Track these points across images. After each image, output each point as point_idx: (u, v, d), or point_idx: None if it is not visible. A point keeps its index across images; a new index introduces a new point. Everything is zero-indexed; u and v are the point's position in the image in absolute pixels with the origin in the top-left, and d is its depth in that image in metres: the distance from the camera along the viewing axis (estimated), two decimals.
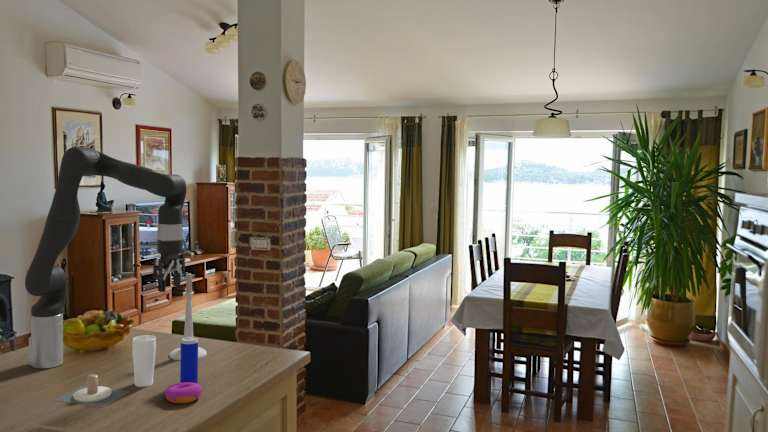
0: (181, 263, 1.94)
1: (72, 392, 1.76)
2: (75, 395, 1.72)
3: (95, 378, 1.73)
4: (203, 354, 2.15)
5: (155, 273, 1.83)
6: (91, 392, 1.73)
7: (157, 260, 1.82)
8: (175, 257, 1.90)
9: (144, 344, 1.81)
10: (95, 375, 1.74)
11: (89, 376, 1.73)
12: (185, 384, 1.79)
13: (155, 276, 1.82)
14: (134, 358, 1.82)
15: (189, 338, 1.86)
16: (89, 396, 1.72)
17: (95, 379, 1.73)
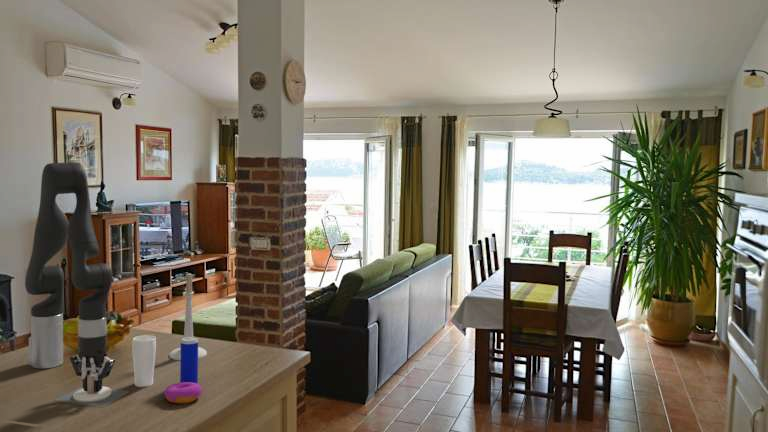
0: (81, 364, 1.75)
1: (72, 392, 1.76)
2: (75, 395, 1.72)
3: None
4: (203, 354, 2.15)
5: None
6: (91, 392, 1.73)
7: (112, 362, 1.72)
8: None
9: (144, 344, 1.81)
10: None
11: (89, 376, 1.73)
12: (185, 384, 1.79)
13: (104, 376, 1.73)
14: (134, 358, 1.82)
15: (189, 338, 1.86)
16: (89, 396, 1.72)
17: None
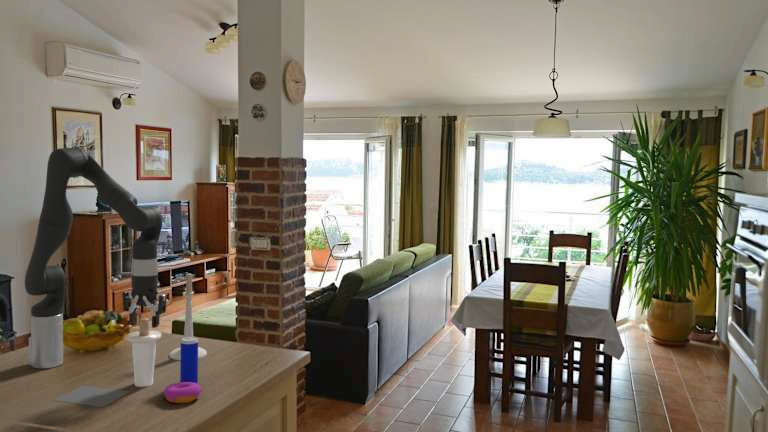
0: (130, 300, 1.85)
1: (72, 392, 1.76)
2: (128, 336, 1.82)
3: (147, 321, 1.83)
4: (203, 354, 2.15)
5: None
6: (143, 334, 1.83)
7: (164, 296, 1.82)
8: None
9: (144, 344, 1.81)
10: (146, 318, 1.84)
11: (141, 319, 1.83)
12: (184, 384, 1.79)
13: (162, 312, 1.82)
14: (134, 358, 1.82)
15: (189, 338, 1.86)
16: (142, 337, 1.81)
17: (147, 322, 1.83)
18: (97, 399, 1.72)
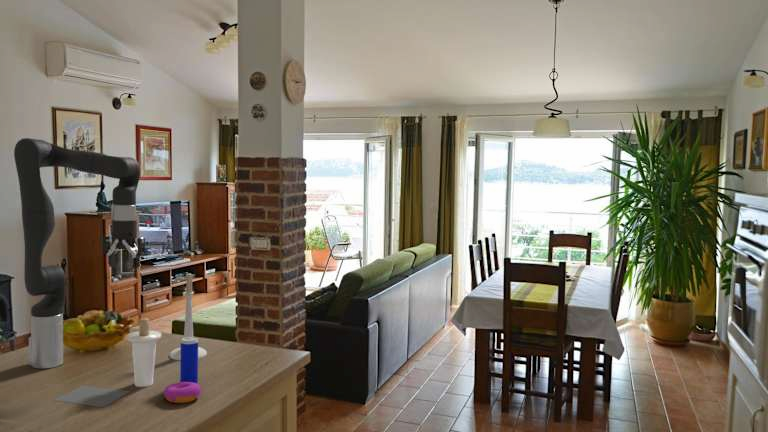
0: (109, 244, 1.98)
1: (72, 392, 1.76)
2: (128, 336, 1.82)
3: (147, 321, 1.83)
4: (203, 354, 2.15)
5: None
6: (143, 334, 1.83)
7: (142, 238, 1.94)
8: None
9: (144, 344, 1.81)
10: (146, 318, 1.84)
11: (141, 319, 1.83)
12: (184, 384, 1.79)
13: (142, 253, 1.94)
14: (134, 358, 1.82)
15: (189, 338, 1.86)
16: (142, 337, 1.81)
17: (147, 322, 1.83)
18: (97, 399, 1.72)
